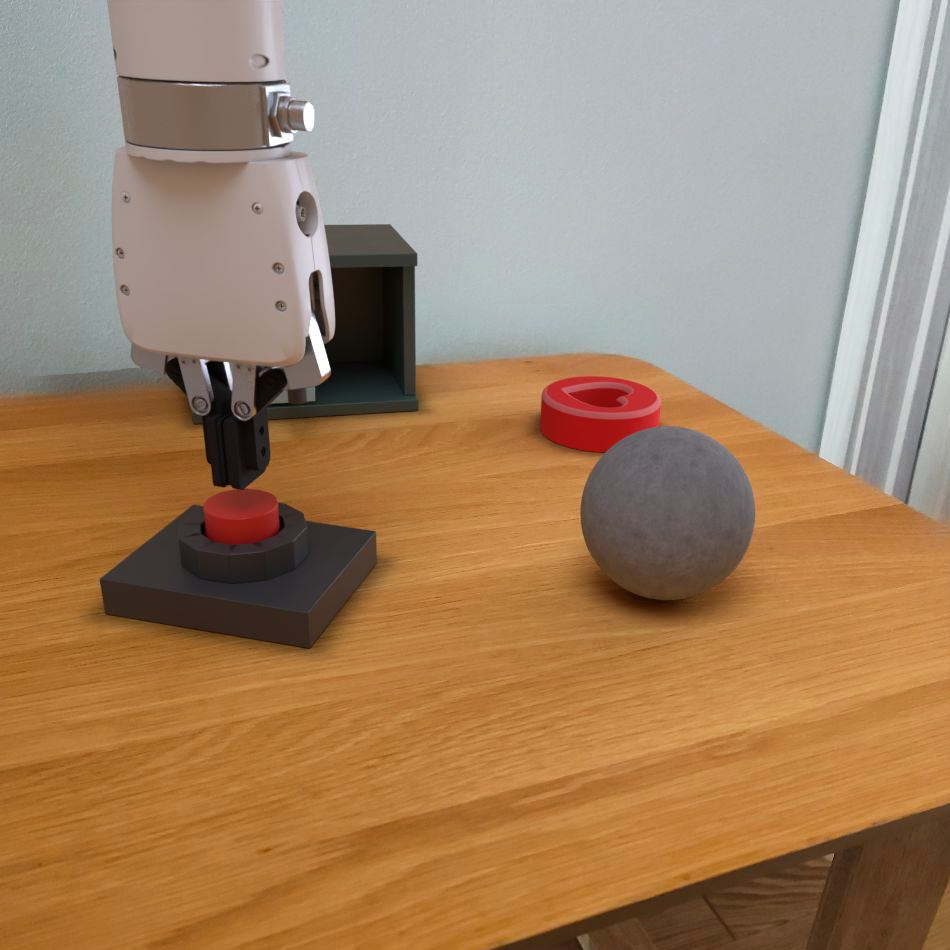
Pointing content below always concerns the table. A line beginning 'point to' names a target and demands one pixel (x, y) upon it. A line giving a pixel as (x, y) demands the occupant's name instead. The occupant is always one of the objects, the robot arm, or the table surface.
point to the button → (241, 516)
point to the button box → (243, 578)
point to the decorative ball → (667, 513)
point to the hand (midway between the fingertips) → (240, 478)
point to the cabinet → (366, 327)
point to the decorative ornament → (596, 411)
